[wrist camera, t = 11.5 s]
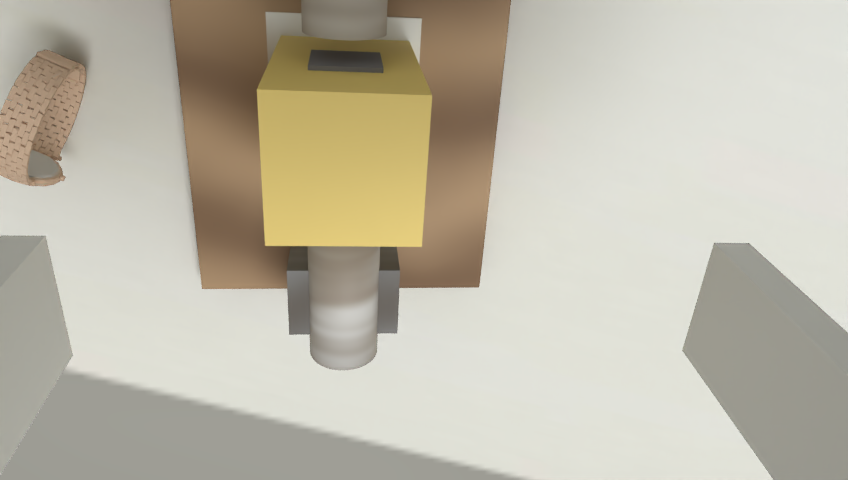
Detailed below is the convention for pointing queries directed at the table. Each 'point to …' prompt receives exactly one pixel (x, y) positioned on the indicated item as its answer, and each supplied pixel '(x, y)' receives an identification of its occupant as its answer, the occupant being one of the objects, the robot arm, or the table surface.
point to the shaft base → (241, 166)
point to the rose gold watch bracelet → (40, 119)
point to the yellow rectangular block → (343, 143)
